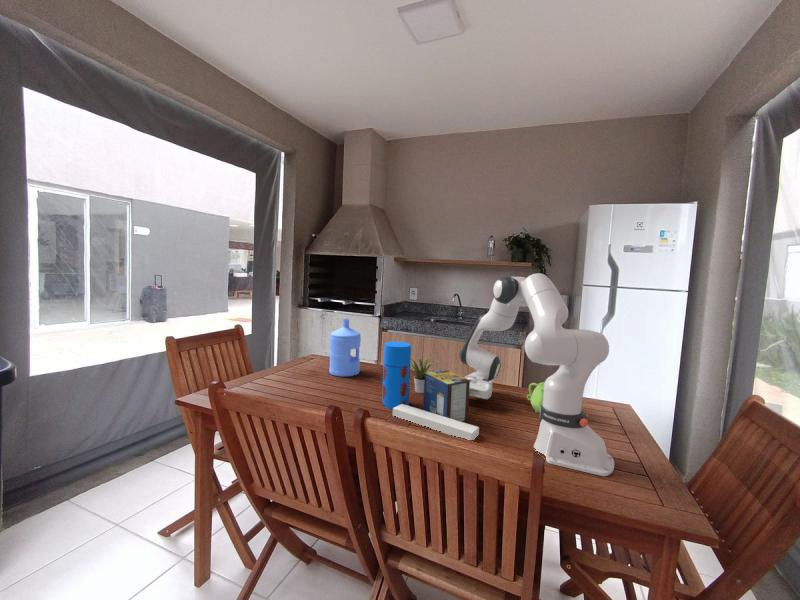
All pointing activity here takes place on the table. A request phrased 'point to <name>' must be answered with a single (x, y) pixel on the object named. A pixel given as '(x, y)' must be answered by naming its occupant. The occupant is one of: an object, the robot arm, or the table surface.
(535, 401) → the teapot
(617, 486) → the table surface
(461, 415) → the protein box
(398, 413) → the board
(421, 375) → the house plant
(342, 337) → the water jug
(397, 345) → the thermos
